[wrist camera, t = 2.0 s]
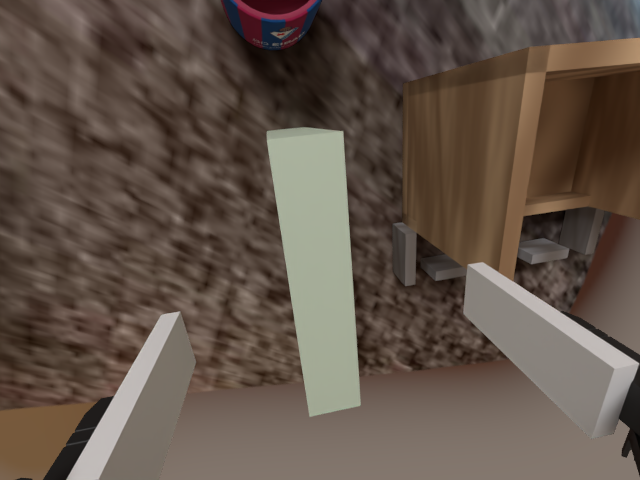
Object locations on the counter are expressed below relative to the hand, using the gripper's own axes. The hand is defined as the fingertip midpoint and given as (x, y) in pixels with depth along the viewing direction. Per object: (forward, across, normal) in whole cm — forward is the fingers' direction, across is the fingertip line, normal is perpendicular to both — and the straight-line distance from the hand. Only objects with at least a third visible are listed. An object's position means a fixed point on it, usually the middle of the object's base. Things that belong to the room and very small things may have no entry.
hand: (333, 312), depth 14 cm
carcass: (+15, +19, +2) cm, 24 cm away
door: (+15, 0, 0) cm, 15 cm away
